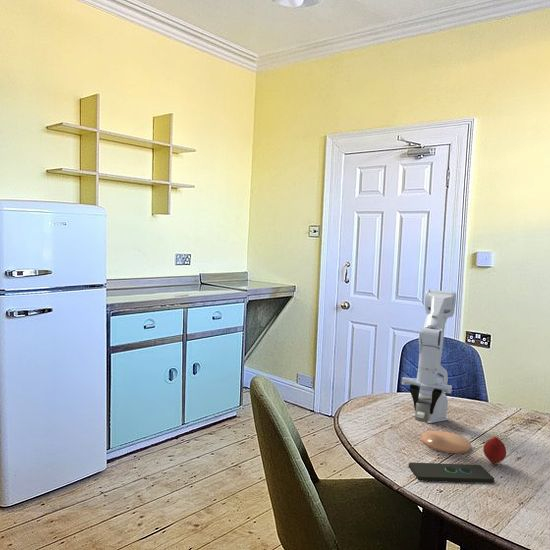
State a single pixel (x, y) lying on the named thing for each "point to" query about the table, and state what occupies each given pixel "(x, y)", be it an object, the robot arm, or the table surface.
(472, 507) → the table surface
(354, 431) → the table surface
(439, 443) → the plate
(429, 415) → the connector
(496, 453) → the onion
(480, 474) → the smart home device
